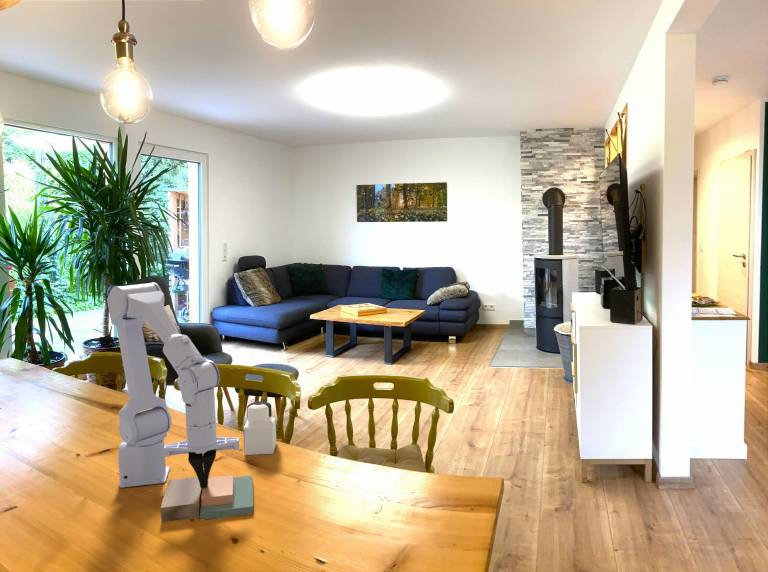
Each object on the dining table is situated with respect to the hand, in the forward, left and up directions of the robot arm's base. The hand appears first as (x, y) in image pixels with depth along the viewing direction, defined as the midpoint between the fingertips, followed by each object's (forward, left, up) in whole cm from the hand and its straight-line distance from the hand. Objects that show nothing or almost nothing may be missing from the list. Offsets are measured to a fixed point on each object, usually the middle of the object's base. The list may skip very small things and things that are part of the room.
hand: (204, 485), depth 117 cm
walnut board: (-4, 0, -4) cm, 6 cm away
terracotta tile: (+3, 0, -2) cm, 3 cm away
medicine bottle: (+12, +25, -4) cm, 28 cm away
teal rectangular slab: (+5, 0, -4) cm, 6 cm away
